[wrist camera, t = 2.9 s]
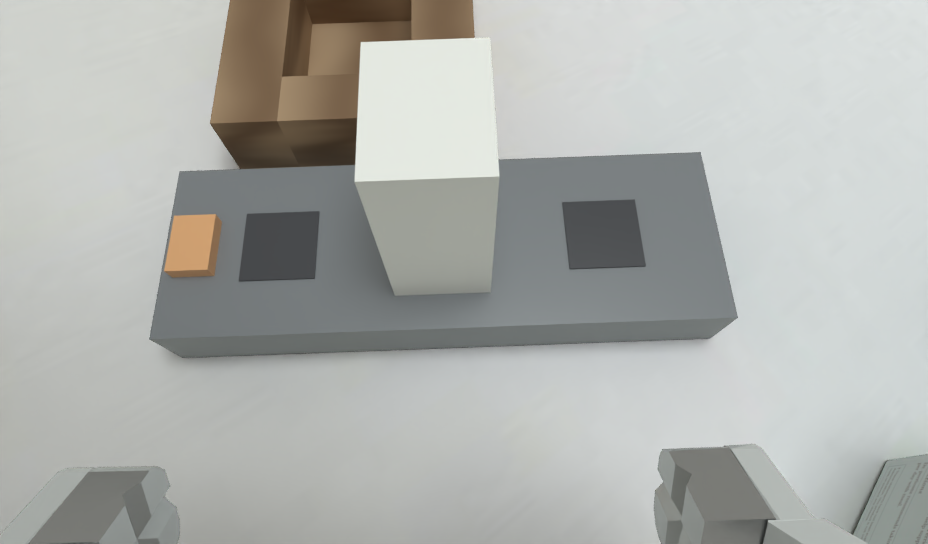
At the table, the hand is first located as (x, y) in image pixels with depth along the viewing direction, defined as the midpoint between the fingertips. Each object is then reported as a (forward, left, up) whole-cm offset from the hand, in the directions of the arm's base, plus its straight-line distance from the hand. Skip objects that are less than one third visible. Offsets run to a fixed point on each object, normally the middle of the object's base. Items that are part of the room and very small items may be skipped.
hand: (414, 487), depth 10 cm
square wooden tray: (-10, +20, -16) cm, 27 cm away
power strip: (-3, +10, -16) cm, 19 cm away
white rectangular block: (-3, +10, -15) cm, 18 cm away
